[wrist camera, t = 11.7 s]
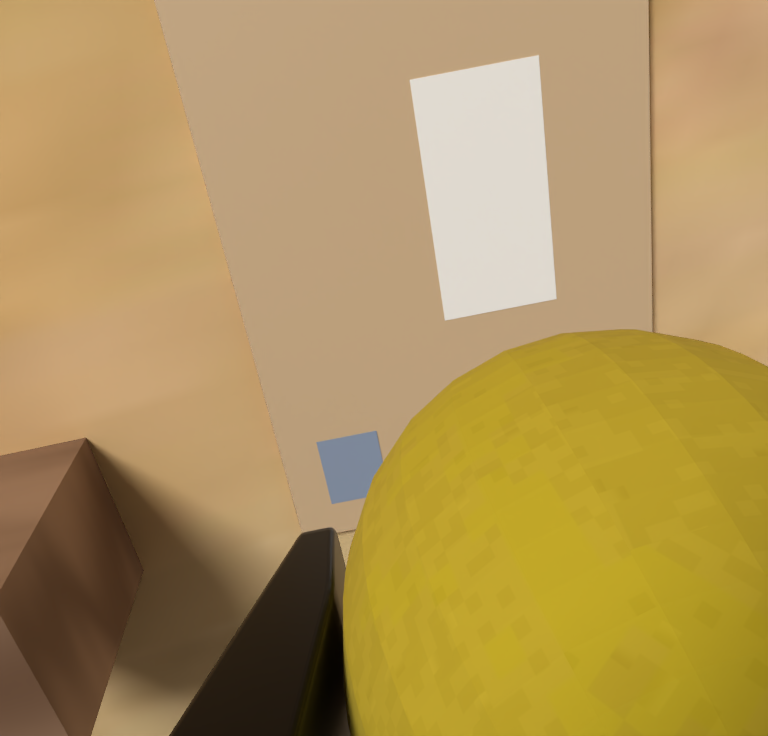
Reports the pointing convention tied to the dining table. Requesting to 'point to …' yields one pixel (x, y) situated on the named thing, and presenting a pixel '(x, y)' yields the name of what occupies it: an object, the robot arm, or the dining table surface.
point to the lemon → (569, 549)
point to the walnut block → (59, 589)
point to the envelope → (413, 199)
